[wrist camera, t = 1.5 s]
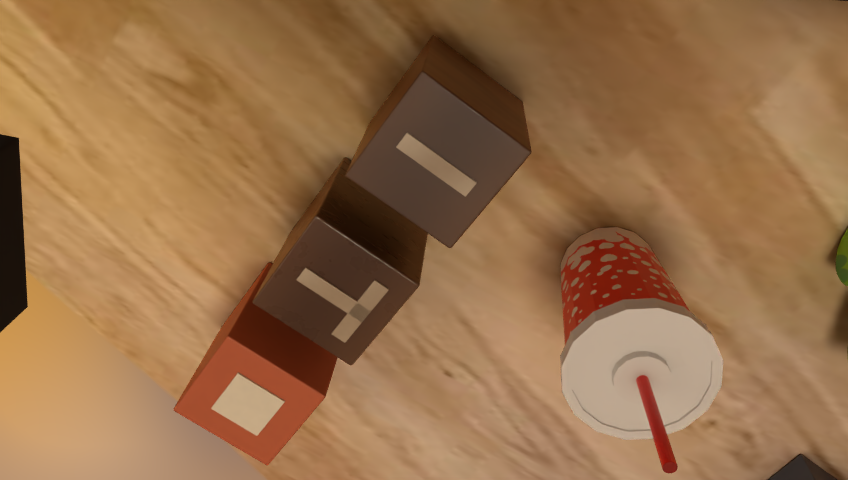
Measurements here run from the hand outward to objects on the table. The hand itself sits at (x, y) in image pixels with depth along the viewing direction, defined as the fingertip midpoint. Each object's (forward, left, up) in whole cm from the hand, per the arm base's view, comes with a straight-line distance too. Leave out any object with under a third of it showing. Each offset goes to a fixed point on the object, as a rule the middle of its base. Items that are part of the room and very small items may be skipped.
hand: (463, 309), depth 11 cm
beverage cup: (+12, -5, -24) cm, 28 cm away
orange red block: (+1, -18, -24) cm, 30 cm away
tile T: (+1, -11, -24) cm, 27 cm away
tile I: (+1, -4, -24) cm, 25 cm away
